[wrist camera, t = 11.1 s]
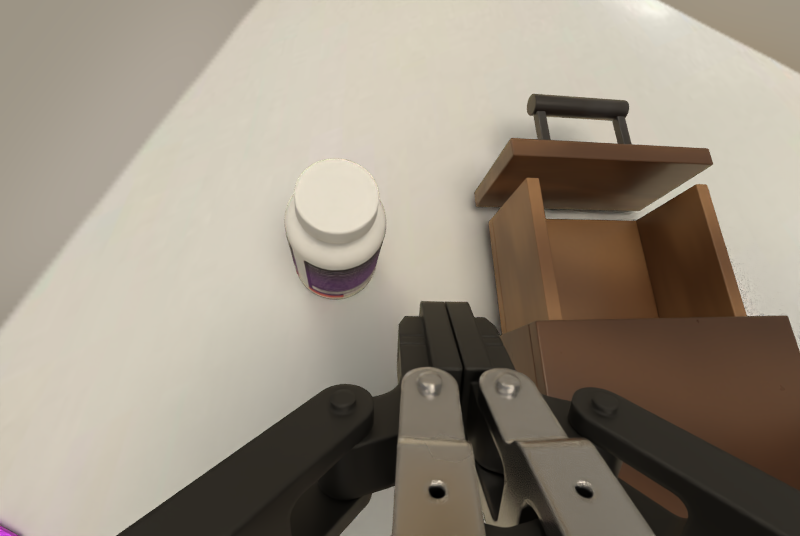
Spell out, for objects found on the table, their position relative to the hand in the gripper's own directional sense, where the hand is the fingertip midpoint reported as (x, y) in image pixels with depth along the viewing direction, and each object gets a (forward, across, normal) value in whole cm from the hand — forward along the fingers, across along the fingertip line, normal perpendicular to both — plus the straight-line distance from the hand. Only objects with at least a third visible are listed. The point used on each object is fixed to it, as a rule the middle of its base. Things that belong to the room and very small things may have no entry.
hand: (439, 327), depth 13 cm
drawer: (+17, -12, +3) cm, 21 cm away
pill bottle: (+15, +5, +4) cm, 17 cm away
